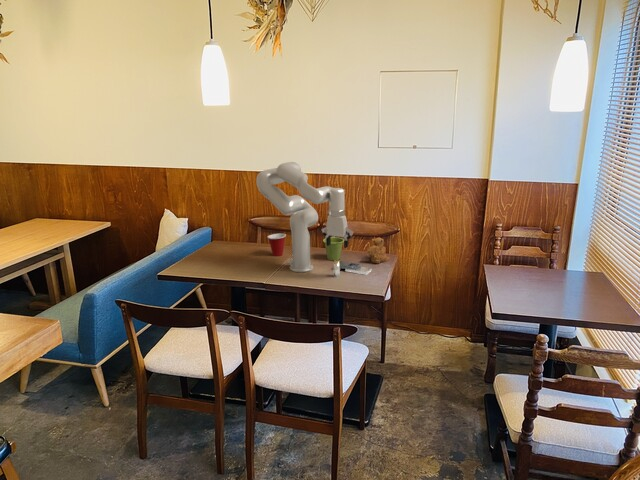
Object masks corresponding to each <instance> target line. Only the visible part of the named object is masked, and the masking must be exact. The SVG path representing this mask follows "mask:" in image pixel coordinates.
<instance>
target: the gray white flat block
mask: <svg viewBox="0 0 640 480" xmlns="http://www.w3.org/2000/svg"><path fill="white" fill-rule="evenodd" d="M339 261H340V270H342V269H345V270H344V271H345V272H346V273H347V272H348V273H352V274H358V275H364V276H367V275H368V274H369V273H371V272H372V269H373V268H371V267H365V266H362V264H361V263H358V262H351V261H344V260H339Z"/></svg>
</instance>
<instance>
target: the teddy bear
mask: <svg viewBox="0 0 640 480" xmlns="http://www.w3.org/2000/svg"><path fill="white" fill-rule="evenodd" d="M371 240H372V242H373V243H374V245H372V246H370V247H368V248H367V250H366V254H368V255H369V257H370V260H371V263H373V264H380V263H385V262H388V261H390V257H389V256H387V254H386V247H385V246H384V244H385V242H384V238H381V237H376V238H372V239H371Z"/></svg>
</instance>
